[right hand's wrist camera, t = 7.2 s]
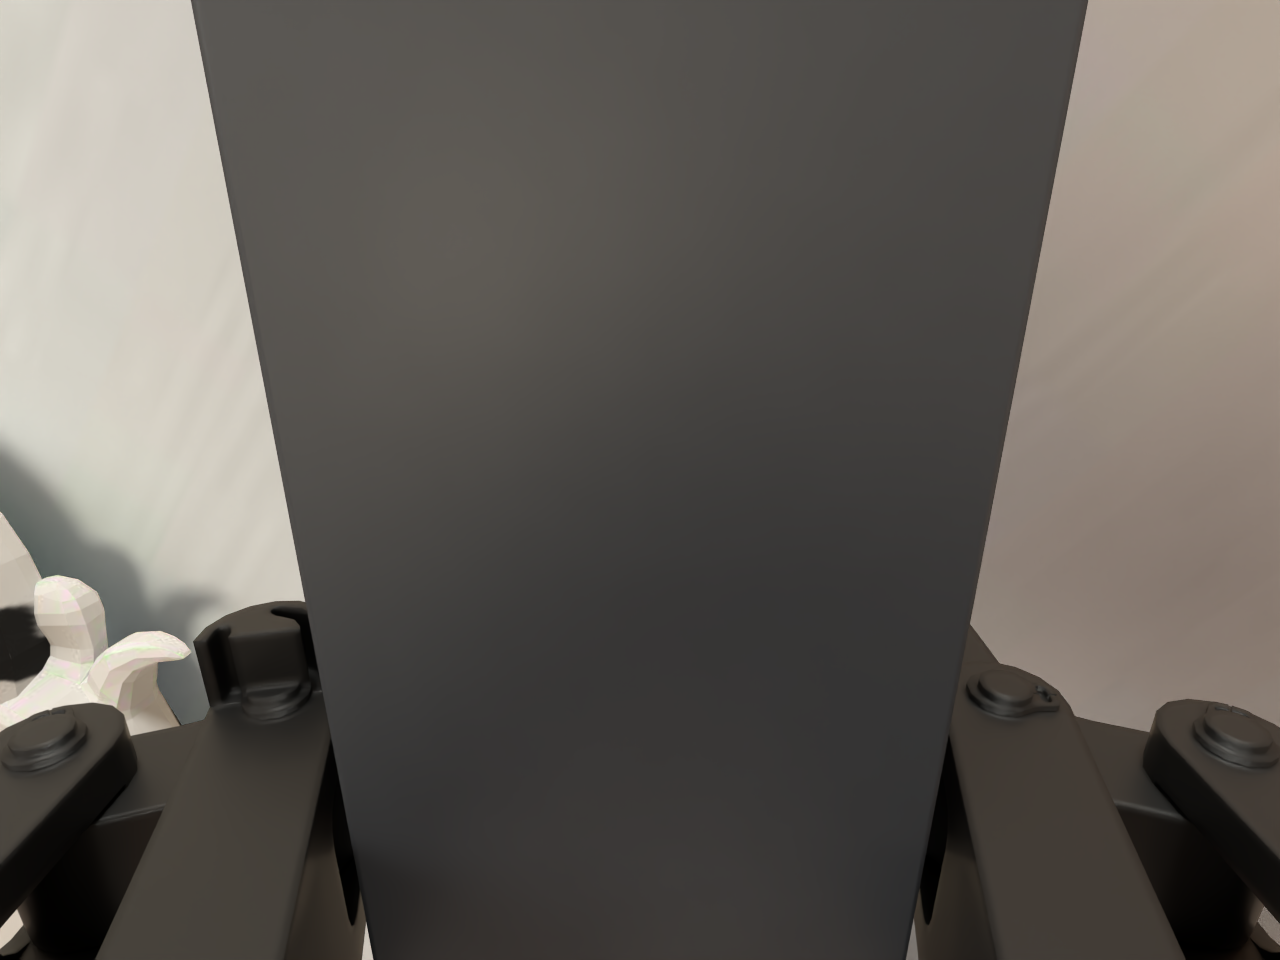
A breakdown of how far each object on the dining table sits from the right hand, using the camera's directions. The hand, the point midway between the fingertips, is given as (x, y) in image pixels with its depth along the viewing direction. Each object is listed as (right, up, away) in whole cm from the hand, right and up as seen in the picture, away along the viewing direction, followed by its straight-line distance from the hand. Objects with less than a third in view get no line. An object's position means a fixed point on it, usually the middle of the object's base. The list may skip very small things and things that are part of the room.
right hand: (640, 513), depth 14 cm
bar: (0, +9, -3) cm, 10 cm away
